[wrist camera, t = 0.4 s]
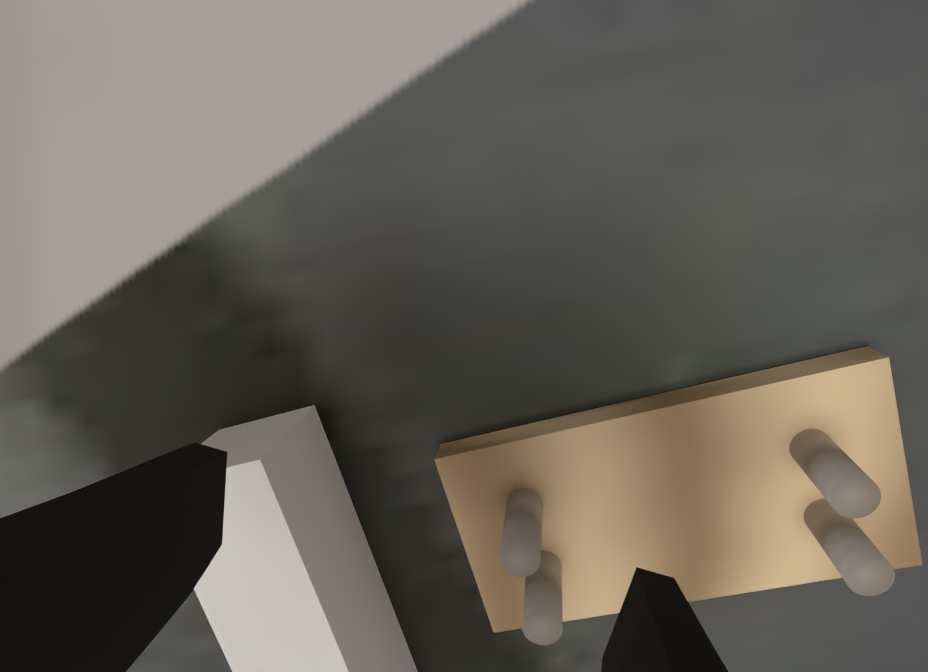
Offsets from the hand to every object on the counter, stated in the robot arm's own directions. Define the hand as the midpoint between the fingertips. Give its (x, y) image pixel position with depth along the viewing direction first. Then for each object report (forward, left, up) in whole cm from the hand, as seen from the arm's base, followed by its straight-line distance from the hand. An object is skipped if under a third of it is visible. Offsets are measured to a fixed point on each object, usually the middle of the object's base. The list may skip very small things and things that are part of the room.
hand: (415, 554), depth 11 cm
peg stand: (+5, -6, -11) cm, 13 cm away
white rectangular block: (-8, -6, -11) cm, 15 cm away
